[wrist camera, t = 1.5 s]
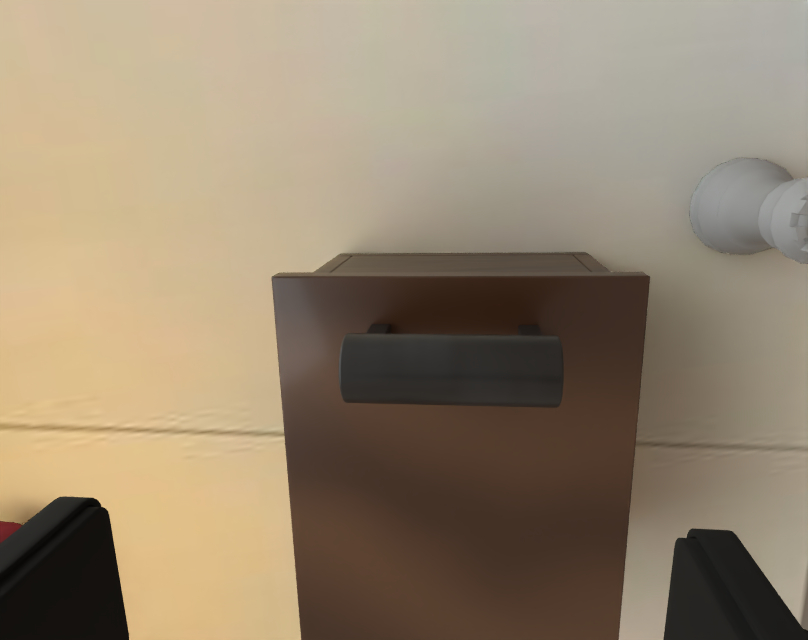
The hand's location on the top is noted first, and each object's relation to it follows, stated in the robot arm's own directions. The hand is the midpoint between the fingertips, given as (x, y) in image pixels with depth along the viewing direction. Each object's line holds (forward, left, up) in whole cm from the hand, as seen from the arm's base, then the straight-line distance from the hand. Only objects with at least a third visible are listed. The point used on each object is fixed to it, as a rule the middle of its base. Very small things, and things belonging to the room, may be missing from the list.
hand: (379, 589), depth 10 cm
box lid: (+5, +2, -12) cm, 13 cm away
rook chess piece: (-8, +12, -22) cm, 27 cm away
